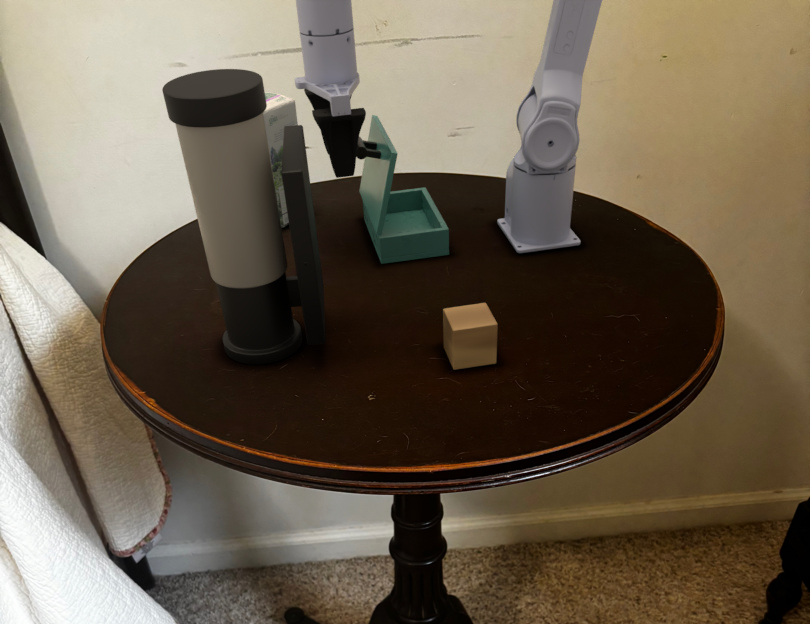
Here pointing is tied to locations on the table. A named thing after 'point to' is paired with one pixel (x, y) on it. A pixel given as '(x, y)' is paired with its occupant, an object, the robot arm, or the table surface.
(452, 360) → the block
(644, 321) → the table surface
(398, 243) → the teal box base
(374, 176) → the lid
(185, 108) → the light fixture
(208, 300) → the table surface
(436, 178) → the table surface
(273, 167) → the syrup box
